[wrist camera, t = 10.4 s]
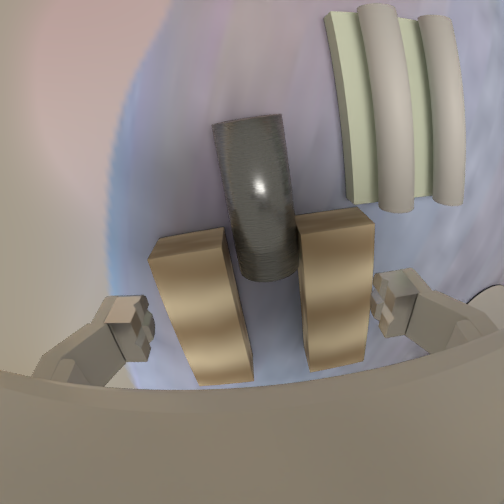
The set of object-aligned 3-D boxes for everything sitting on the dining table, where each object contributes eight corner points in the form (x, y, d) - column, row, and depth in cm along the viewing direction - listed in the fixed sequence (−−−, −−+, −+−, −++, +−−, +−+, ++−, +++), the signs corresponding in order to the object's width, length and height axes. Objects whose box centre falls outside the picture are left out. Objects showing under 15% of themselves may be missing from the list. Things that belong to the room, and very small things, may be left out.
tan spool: (353, 336, 33) (363, 361, 29) (202, 360, 33) (199, 386, 30) (357, 206, 25) (374, 223, 22) (159, 238, 26) (147, 259, 22)
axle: (290, 246, 27) (307, 273, 23) (236, 258, 27) (244, 287, 23) (272, 114, 22) (290, 113, 18) (210, 124, 22) (212, 125, 17)
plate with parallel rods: (451, 186, 24) (481, 202, 20) (346, 197, 25) (368, 217, 20) (439, 31, 17) (471, 25, 13) (323, 18, 18) (342, -1, 13)
